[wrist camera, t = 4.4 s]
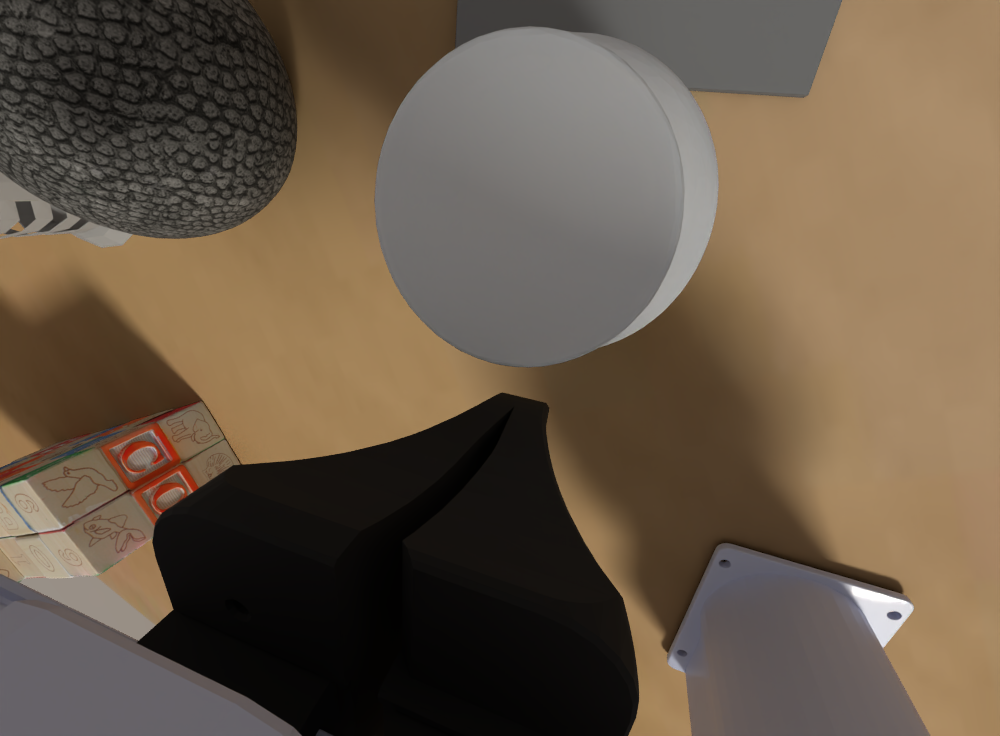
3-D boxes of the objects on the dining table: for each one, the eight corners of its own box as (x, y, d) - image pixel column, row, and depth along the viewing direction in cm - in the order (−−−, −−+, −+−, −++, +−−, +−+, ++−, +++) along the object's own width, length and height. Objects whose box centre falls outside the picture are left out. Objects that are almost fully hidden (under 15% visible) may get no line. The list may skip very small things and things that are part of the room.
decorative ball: (137, 11, 19) (-303, -151, 10) (312, -60, 16) (-106, -390, 7) (215, 238, 22) (-59, 265, 14) (371, 217, 19) (145, 235, 10)
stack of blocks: (204, 396, 28) (-73, 524, 17) (250, 473, 29) (25, 634, 19) (56, 442, 36) (-193, 548, 25) (98, 500, 38) (-119, 623, 27)
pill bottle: (720, 204, 15) (902, 222, 5) (585, 318, 18) (517, 481, 8) (599, 66, 14) (509, -250, 4) (482, 207, 17) (264, 224, 7)
